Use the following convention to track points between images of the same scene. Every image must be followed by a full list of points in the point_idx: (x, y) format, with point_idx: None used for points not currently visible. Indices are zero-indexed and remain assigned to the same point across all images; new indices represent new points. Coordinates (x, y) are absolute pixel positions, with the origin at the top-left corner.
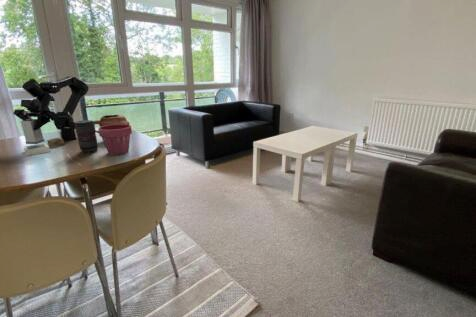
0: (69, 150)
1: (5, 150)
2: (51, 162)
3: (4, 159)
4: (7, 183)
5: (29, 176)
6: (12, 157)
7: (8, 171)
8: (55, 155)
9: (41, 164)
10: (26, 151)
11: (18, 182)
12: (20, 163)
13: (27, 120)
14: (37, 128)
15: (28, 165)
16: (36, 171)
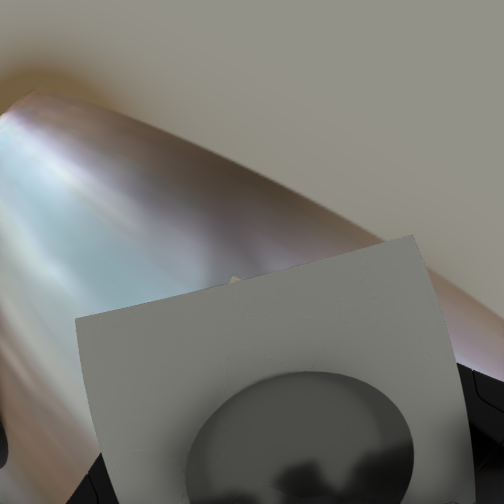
0: (76, 452)
1: (480, 307)
2: (15, 243)
3: (292, 190)
4: (42, 92)
5: (16, 133)
6: (290, 228)
7: (102, 117)
8: (65, 343)
9: (36, 209)
10: (231, 279)
11: (22, 106)
12: (133, 179)
13: (269, 374)
14: None
15: (77, 179)
16: (16, 160)
